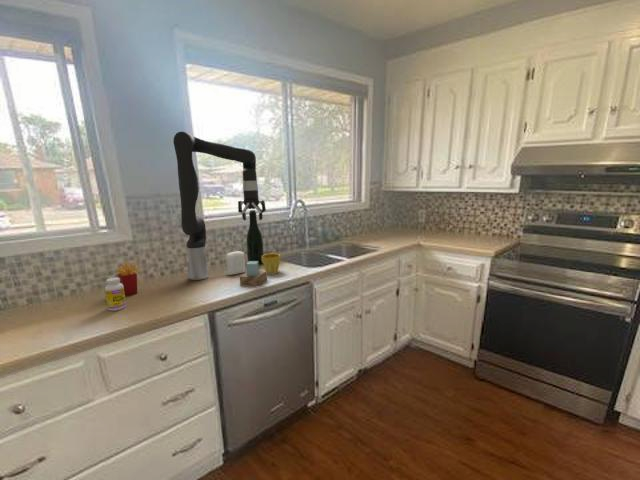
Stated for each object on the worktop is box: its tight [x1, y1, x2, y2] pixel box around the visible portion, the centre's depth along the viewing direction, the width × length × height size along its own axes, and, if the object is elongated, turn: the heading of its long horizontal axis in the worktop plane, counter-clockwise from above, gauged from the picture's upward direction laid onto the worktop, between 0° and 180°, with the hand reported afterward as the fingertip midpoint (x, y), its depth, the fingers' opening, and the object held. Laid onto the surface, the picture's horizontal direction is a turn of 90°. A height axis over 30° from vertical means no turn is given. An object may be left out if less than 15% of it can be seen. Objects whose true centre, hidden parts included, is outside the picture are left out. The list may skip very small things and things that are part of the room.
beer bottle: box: [245, 209, 265, 265], centre depth 199 cm, size 10×10×33 cm
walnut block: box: [239, 270, 268, 287], centre depth 164 cm, size 10×10×5 cm
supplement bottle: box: [104, 276, 127, 312], centre depth 135 cm, size 7×7×13 cm
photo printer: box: [225, 250, 246, 276], centre depth 180 cm, size 10×4×12 cm, turn 123°
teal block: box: [245, 261, 260, 276], centre depth 162 cm, size 5×5×6 cm
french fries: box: [116, 262, 141, 297], centre depth 153 cm, size 9×8×15 cm
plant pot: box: [261, 253, 281, 275], centre depth 180 cm, size 10×10×10 cm
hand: (252, 220), depth 172 cm, fingers open, 8 cm apart
